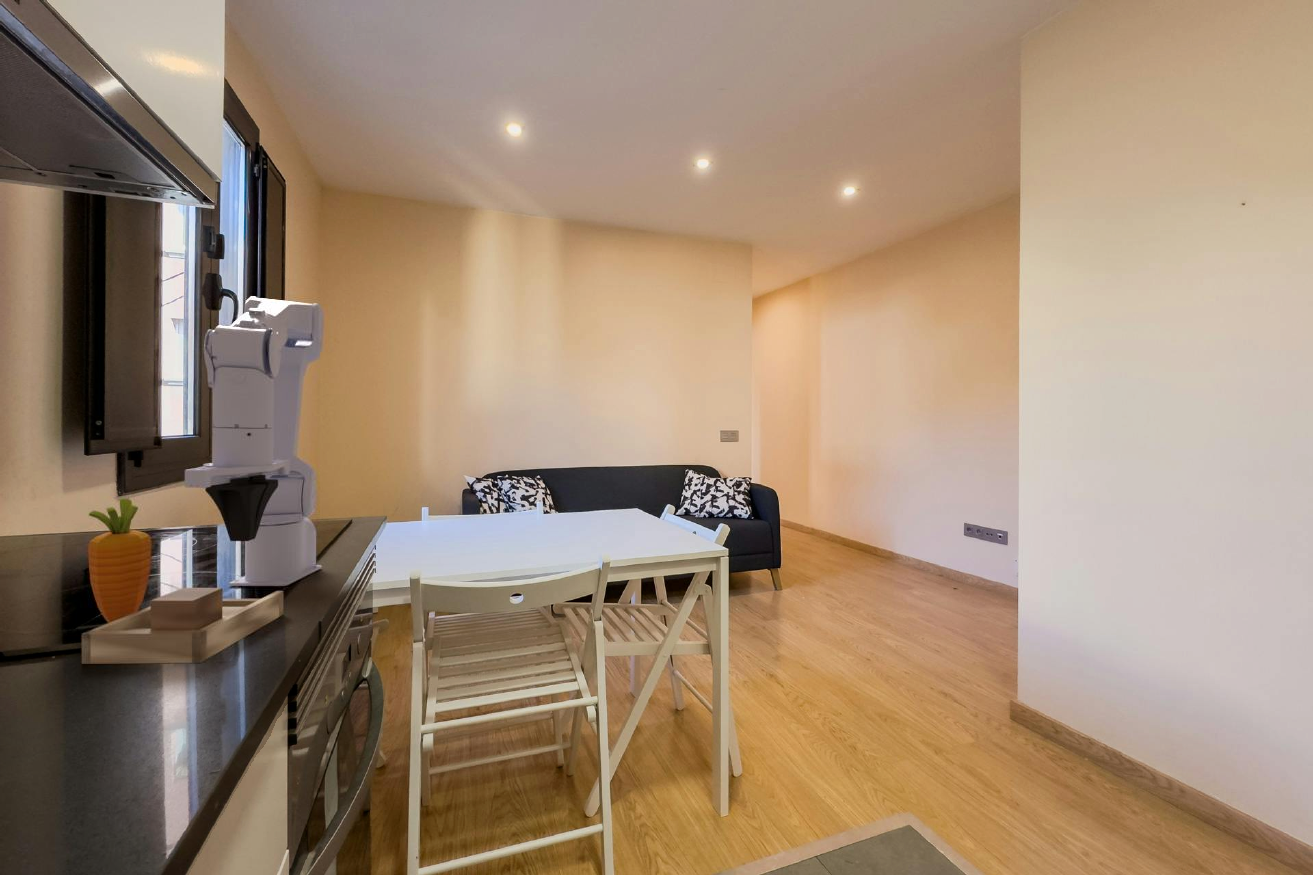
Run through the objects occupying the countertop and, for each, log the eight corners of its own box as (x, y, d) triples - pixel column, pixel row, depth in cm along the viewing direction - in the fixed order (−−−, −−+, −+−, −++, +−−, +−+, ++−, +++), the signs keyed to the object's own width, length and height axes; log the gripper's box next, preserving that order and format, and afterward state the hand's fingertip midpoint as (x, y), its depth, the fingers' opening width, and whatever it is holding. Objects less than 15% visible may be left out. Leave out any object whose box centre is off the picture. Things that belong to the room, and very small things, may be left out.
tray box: (189, 614, 64) (189, 590, 64) (283, 614, 65) (283, 590, 65) (81, 663, 51) (81, 633, 51) (200, 662, 52) (200, 633, 52)
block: (183, 623, 56) (183, 587, 56) (222, 623, 57) (222, 587, 57) (150, 639, 52) (150, 600, 52) (192, 639, 53) (192, 600, 53)
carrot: (118, 641, 56) (118, 504, 56) (74, 639, 56) (73, 502, 56) (163, 623, 61) (163, 497, 61) (122, 621, 61) (122, 496, 61)
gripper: (250, 426, 69) (250, 526, 69) (154, 427, 54) (153, 555, 55) (306, 427, 69) (305, 527, 70) (225, 429, 55) (224, 555, 55)
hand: (242, 539), depth 62 cm, fingers closed
